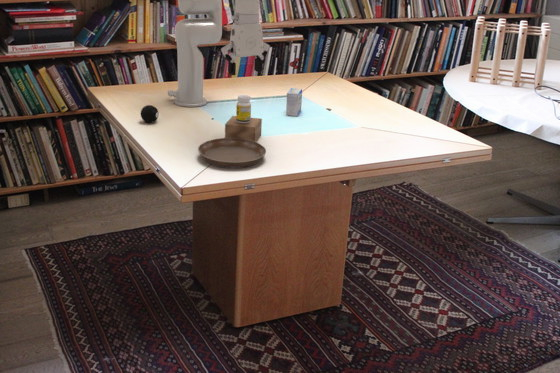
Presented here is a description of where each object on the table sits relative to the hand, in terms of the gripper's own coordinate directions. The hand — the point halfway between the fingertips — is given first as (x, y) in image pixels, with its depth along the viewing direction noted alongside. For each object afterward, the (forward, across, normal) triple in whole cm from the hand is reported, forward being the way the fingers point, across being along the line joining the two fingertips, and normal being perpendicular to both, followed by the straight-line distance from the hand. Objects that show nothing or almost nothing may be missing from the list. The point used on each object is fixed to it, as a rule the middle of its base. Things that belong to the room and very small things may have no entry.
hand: (245, 72), depth 227 cm
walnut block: (+22, 0, 0) cm, 22 cm away
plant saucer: (+23, -13, -14) cm, 30 cm away
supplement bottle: (+16, 0, 0) cm, 16 cm away
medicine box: (+22, +32, +17) cm, 43 cm away
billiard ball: (+22, -20, +29) cm, 42 cm away
